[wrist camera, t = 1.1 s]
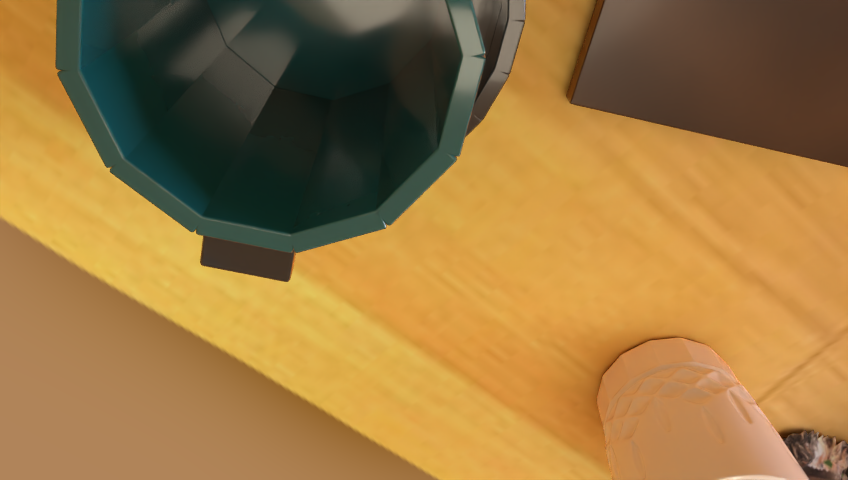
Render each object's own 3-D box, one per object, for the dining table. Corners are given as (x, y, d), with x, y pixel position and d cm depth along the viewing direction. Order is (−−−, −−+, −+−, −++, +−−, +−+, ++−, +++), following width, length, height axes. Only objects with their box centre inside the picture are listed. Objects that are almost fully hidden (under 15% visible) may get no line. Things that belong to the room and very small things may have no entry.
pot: (211, -257, 26) (61, -323, 15) (498, -180, 28) (553, -189, 16) (176, 112, 32) (50, 259, 21) (414, 164, 33) (413, 328, 22)
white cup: (746, 317, 38) (848, 466, 29) (737, 442, 41) (825, 609, 32) (582, 335, 38) (632, 487, 29) (586, 458, 42) (633, 626, 33)
